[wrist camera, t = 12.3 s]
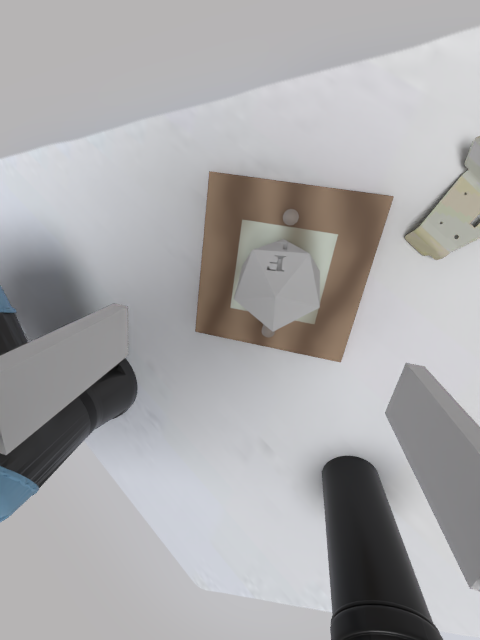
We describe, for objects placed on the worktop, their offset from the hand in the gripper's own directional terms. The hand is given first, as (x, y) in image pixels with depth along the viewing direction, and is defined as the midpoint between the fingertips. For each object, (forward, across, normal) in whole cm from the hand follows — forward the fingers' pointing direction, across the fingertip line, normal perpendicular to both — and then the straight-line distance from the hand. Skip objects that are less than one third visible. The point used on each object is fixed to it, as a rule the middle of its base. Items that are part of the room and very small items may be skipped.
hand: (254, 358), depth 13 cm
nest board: (+23, 0, 0) cm, 23 cm away
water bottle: (+23, +17, -30) cm, 42 cm away
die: (+22, 0, 0) cm, 22 cm away
